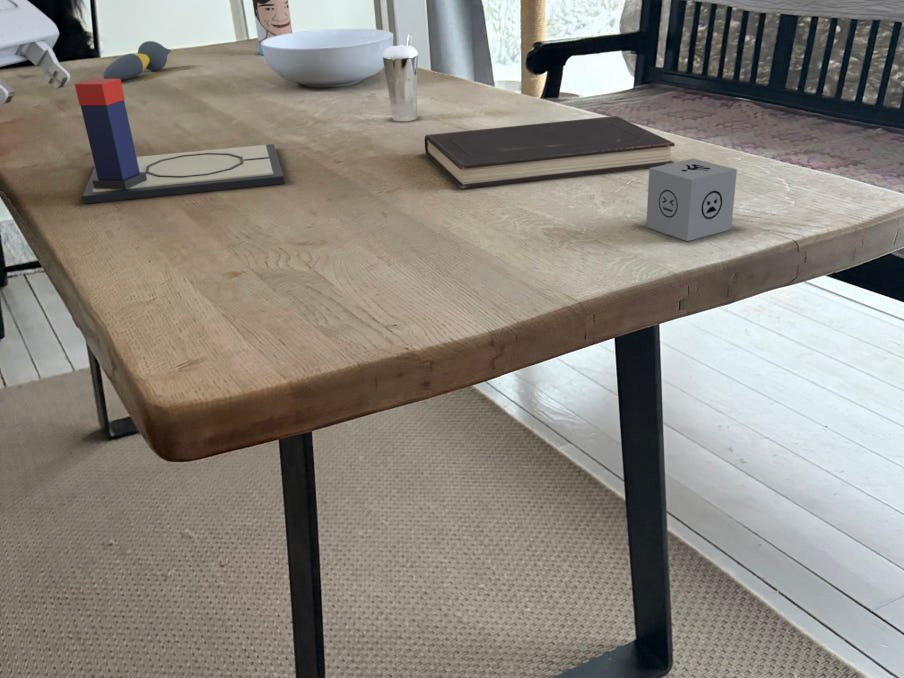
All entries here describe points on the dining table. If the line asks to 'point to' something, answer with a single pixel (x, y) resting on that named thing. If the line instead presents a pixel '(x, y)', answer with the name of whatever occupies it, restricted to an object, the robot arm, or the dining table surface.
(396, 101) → the milkshake
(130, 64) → the paintbrush
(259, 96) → the dining table surface
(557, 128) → the hardcover book
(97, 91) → the blue and red block
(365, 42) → the serving bowl
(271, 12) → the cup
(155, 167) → the beige flat board
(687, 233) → the dice cube
